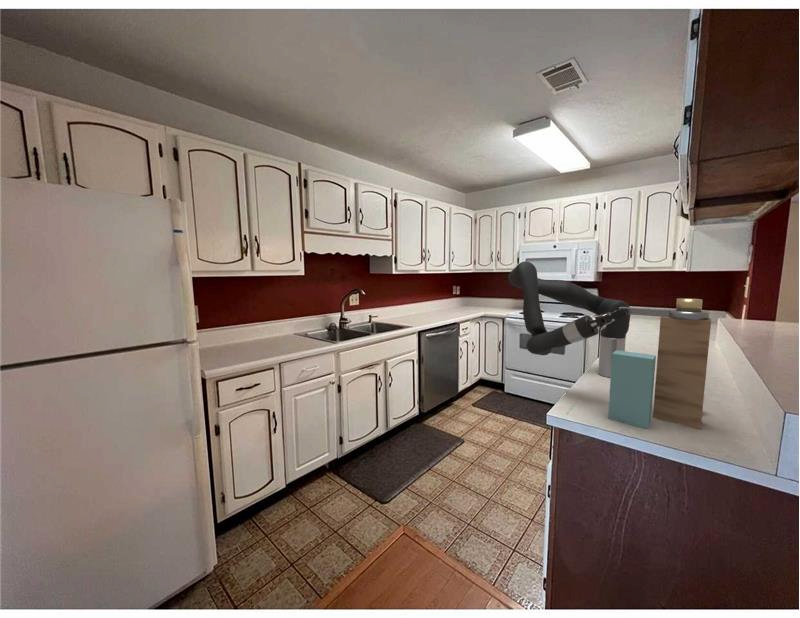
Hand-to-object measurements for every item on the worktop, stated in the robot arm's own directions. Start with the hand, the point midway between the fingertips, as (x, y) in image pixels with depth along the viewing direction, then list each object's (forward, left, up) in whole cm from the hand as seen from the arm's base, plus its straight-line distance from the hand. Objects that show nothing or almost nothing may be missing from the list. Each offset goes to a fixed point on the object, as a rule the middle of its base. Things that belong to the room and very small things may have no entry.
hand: (628, 310), depth 104 cm
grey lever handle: (0, +8, -1) cm, 8 cm away
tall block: (+10, +4, -33) cm, 35 cm away
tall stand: (0, +14, -33) cm, 36 cm away
